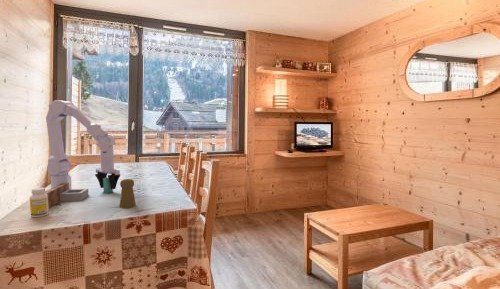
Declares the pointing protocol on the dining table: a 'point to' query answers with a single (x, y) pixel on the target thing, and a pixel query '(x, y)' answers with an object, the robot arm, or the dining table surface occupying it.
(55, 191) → the rail
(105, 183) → the dowel
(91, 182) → the dining table surface
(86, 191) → the socket block
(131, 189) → the cork
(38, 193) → the supplement bottle
